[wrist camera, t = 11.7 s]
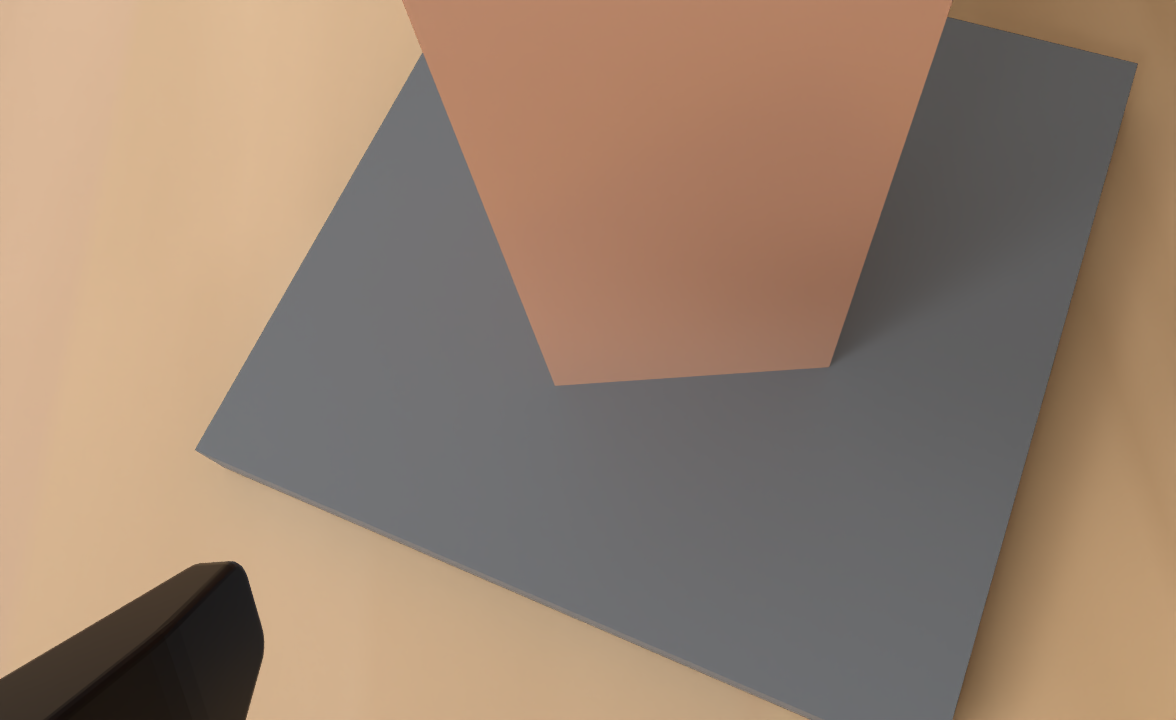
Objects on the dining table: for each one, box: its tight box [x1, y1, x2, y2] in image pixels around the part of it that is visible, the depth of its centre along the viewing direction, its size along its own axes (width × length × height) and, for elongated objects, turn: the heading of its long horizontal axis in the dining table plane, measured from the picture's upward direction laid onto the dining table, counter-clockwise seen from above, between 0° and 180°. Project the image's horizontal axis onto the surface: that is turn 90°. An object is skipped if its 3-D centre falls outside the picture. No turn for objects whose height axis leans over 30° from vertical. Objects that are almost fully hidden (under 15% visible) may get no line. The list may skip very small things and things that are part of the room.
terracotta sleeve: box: [402, 0, 953, 386], centre depth 13 cm, size 5×5×13 cm
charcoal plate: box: [195, 17, 1138, 720], centre depth 19 cm, size 14×14×1 cm
